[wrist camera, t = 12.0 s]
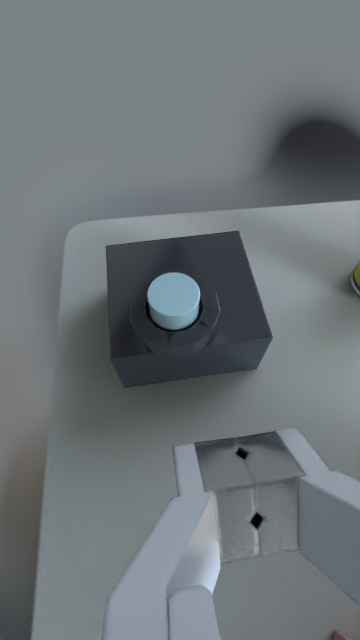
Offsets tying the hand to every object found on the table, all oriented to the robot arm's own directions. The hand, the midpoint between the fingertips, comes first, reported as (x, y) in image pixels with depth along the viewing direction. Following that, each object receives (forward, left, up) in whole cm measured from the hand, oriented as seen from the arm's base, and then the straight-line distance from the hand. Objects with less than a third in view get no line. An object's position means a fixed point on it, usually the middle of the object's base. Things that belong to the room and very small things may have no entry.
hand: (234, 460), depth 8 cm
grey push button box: (-5, +14, -19) cm, 24 cm away
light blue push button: (-5, +11, -12) cm, 17 cm away
